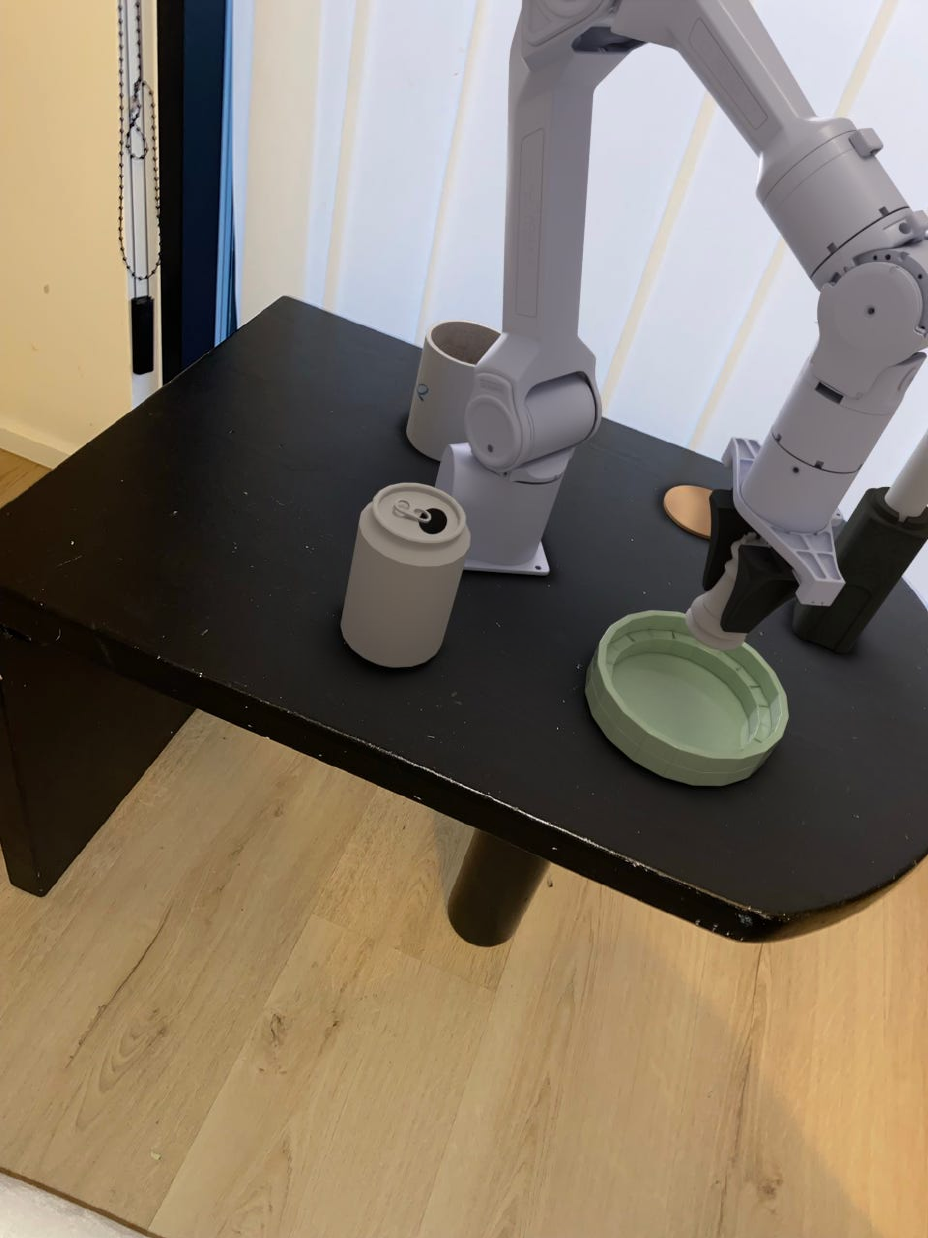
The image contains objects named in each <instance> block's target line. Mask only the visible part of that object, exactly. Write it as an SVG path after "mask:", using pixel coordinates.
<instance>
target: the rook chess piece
mask: <svg viewBox="0 0 928 1238" xmlns="http://www.w3.org/2000/svg"><path fill="white" fill-rule="evenodd" d="M755 537H756V533H748V535H747V536H746V535H744V536H743V538H742V539H741V540H739V541H736V542H734V543H733V544H732V546H731V552H732V556H733V559H732V560H730V561H727V563H726V564H725V570H726V571H725V573H724V575H723V576H722V577H721V579H720V580H719V581H718V583H717V584H716V585H715V586H714V587H713V588H712V589H711V590H709V591H704V593H703V594H701V595H699V596H697V597H695V599H693V602H692V603H691V605H690V607H688V609H687V611H686V613H684V614H685V618H686V625H687V628H688V630H689V631H690V633H691V635H692V636H693V637H694V638H695V639H696V640H697V641H698V642H699V643H701V644H703V645H705V646H707V647H709V648H712V649H716V650H720V651H721V650H731V649H735V648H737V647H739V646H740V645H742V644H743V642H745V641H746V636H748V634H747V633H731V632H724V631H723V630H722V628H721V626H720V621H721V616H722V613H723V611H724V608H725V606H726V604H727V602H728V599H729V597H730V595H731V593H732V590H733V587H734V584H735V580H736V575H737V570H738V548H739V546H740V545H741V544H743V545H754V546H765V547H768V548H770V547H771V545H770V544H769V543H768V544H767V543H766V542H767V541H766V540H765V539H764V538H763V537H762V536H761V537H760V539H755Z"/></svg>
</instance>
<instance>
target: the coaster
mask: <svg viewBox="0 0 928 1238" xmlns="http://www.w3.org/2000/svg"><path fill="white" fill-rule="evenodd" d="M712 491H713V490H711V489H708V488H706V487H701V486H698V485H697V486H696V485H689V484H688V485H687V484H686V485H678V486H674V487H672V488H670V489H669V490H668V491H667V492H666V493H665V495H664V498H663V508H664V510H665V513H666V514H667V515H668V517H669V518H670V519H671V520H672V521H673V523H675V524H676V525H677V526H679V527H680V528H681V529H683V530H685V531H686V532H688V533H690V534H691V535H694V536H697V537H700V538H703V539H706V540H710V533H711V511H710V503H709V496H710V494H711V492H712Z"/></svg>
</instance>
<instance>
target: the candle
mask: <svg viewBox="0 0 928 1238" xmlns="http://www.w3.org/2000/svg"><path fill="white" fill-rule="evenodd" d="M927 542H928V429H926V432H924V435H923V436H922V437H921V438H920V441H919V442H918V444H917V445H916V447H915V449H914V450H913V452H912V453H911V454H910V456H909V457H908V459H907V460H906V463H905V464H904V465H903V467H902V469H901V470H900V472H899V474H898V475H897V476H896V478H895V479H894V481H893V482H892V484H891V485H890V486H880V487H870V488H868V489H866V490H865V492H864V494H863V495H862V497H861V498H860V500H859V501H858V503H857V505H856V507H855V508H854V509H853V511H852V513H851V515H850V516H849V517H848V519H847V521H846V522H845V524H844V525H843V527H842V529H841V530H840V532H839V533H838V535H837V537H836V539H835V540H834V546H835V553H836V560H837V565H838V569H839V571H840V574H841V576H842V577H843V579H844V581H845V584H844V586H843V587H842V589H841V590H840V592H839V593H838V595H837V596H836V598H835V599H834V601H833V602H832V604H831V605H830V606H823V605H821V606H818V605H809V604H801V603H800V601H799V599H798V600H797V601H796V603H795V605H794V607H793V614H792V615H793V616H792V624H791V627H792V631H793V633H794V634H795V635H796V636H797V637H798V638H800V639H802V640H804V641H809V642H812V643H814V644H818V645H819V646H823V647H824V648H828V649H831V650H832V651H833V652H835V653H837V654H847V653H849V652H850V650H851V649H852V648H853V646H854V645H855V643H856V642H857V640H859V638H860V636H861V635H862V633H863V632H864V631H865V630H866V628H867V626H868V625H869V623H870V622H871V621H872V620H873V618H874V616H876V614H877V612H878V611H879V609H880V608H881V607H882V605H883V604H884V603H885V601H886V600H887V598H888V597H889V595H890V594H891V592H892V591H893V590H894V589H895V587H896V585H897V584H898V582H899V581H900V580H901V578H902V577H903V576H904V574H905V573H906V571H907V570H908V569H909V567H910V565H911V564H912V562H914V560H915V559H916V557H917V556H918V554H919V553H920V551H921V550H922V548H924V546H925V544H926V543H927Z"/></svg>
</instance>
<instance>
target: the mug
mask: <svg viewBox="0 0 928 1238" xmlns="http://www.w3.org/2000/svg"><path fill="white" fill-rule="evenodd" d="M501 334H502V330H499V329H497V328H495V327H493V326H490V325H488V324H485V323H482V322H479V321H475V320H468V319H459V318H458V319H455V318H453V319H452V318H450V319H442V320H439V321H436V322H433V323H432V324H430V325H429V326H428V328H427V329H426V330H425V337H424V341H423V346H422V351H421V356H420V361H419V364H418V365H419V366H418V370H417V375H416V380H415V386H414V389H413V390H414V391H413V395H412V400H411V404H410V405H411V406H410V410H409V415H408V420H407V425H406V437H407V439H408V440H409V443H411V445H412V446H413V447H414V448H415V449H416V450H418V451H419V452H420V453H422V454H423V455H425V456H426V457H428V458H431V459H433V460H436V461H438V462H441V459H442V455H443V452H444V450H445V448H446V446H447V445H449V444H461V443H468V441H467V438H466V434H465V428H464V414H465V409H466V405H467V403H468V401H469V398H470V396H471V393H472V390H473V381H474V368H475V366H476V365H477V363H478V362H479V361H480V360H481V358H482V357H483V356H484V355H485V354H486V352H487V351H488V350H489V349H490V348H491V347H492V345H493V344H494V343H495V342H496V341H497V340H498V338H499V337H500V335H501Z"/></svg>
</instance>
